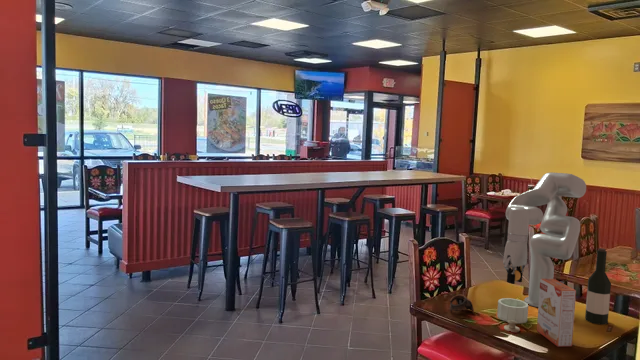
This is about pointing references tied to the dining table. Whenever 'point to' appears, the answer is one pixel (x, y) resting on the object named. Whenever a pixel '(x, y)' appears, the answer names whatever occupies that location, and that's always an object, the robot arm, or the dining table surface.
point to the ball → (517, 275)
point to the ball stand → (512, 326)
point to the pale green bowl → (512, 310)
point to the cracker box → (556, 312)
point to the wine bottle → (598, 292)
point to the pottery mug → (461, 303)
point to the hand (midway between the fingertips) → (514, 281)
